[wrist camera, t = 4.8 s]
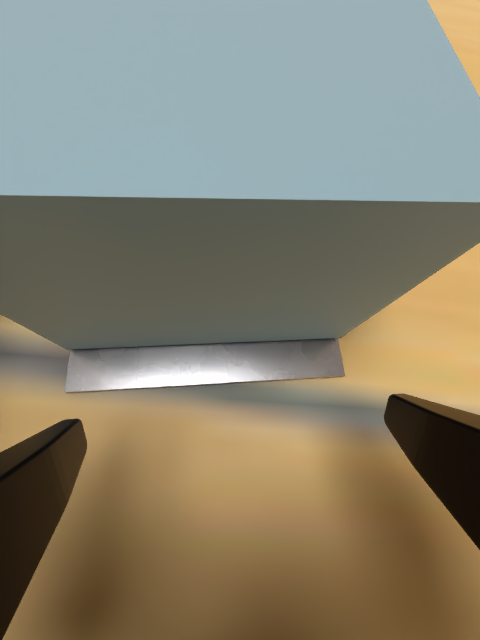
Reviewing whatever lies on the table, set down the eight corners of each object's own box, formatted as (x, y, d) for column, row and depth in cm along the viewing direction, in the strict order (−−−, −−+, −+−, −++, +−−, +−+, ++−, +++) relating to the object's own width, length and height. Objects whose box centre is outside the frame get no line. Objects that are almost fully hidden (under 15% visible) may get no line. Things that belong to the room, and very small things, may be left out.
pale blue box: (339, 337, 15) (537, 203, 6) (67, 349, 14) (-231, 191, 5) (311, 194, 19) (408, -33, 10) (89, 190, 17) (-53, -87, 8)
